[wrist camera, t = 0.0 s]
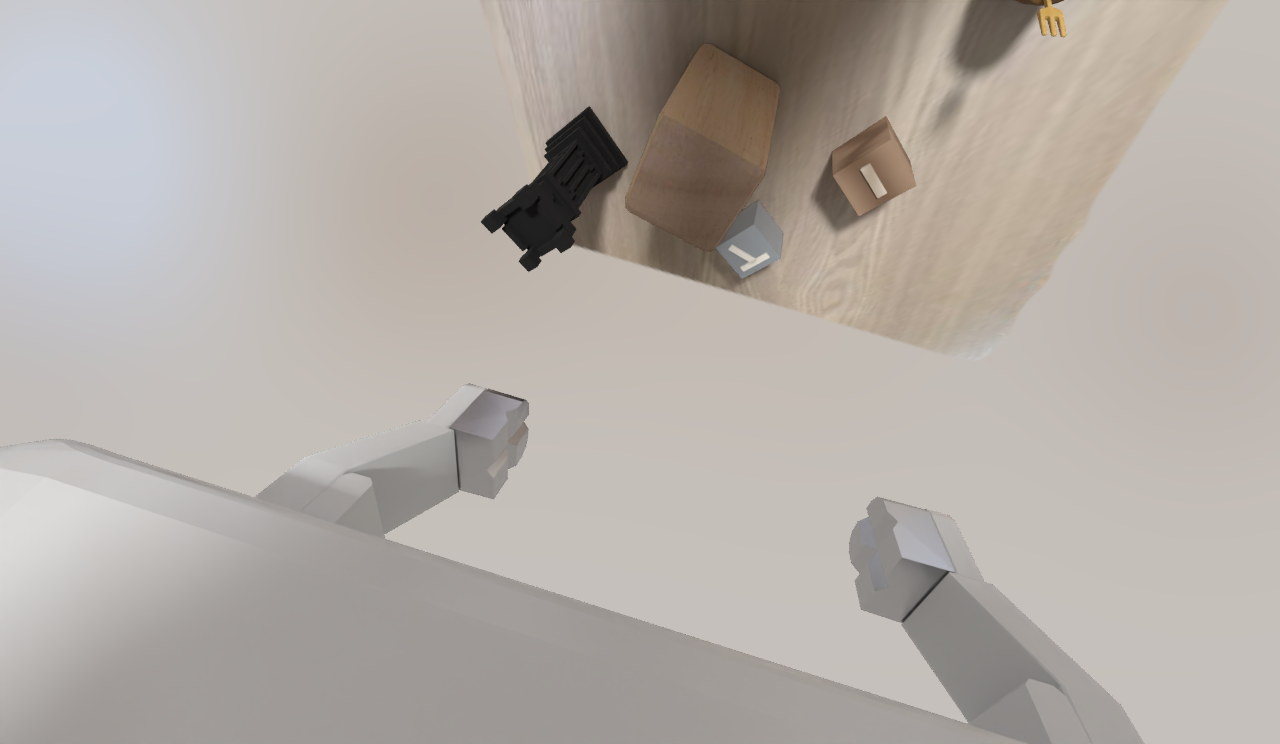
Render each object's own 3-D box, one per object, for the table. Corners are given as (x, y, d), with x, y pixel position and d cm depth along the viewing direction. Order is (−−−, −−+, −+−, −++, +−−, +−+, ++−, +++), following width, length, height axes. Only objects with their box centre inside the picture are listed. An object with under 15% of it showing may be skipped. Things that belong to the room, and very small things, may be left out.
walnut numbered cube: (886, 115, 49) (891, 140, 45) (909, 160, 51) (916, 186, 47) (832, 151, 52) (832, 176, 49) (856, 190, 55) (858, 217, 51)
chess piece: (547, 140, 60) (475, 220, 48) (589, 106, 56) (521, 184, 43) (586, 190, 65) (528, 275, 52) (628, 162, 60) (576, 248, 47)
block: (736, 165, 56) (711, 259, 44) (665, 126, 55) (618, 211, 43) (785, 84, 49) (770, 170, 36) (703, 36, 47) (660, 109, 35)
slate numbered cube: (758, 199, 59) (753, 225, 55) (783, 232, 62) (780, 259, 58) (721, 223, 63) (714, 249, 59) (746, 253, 66) (741, 280, 62)
